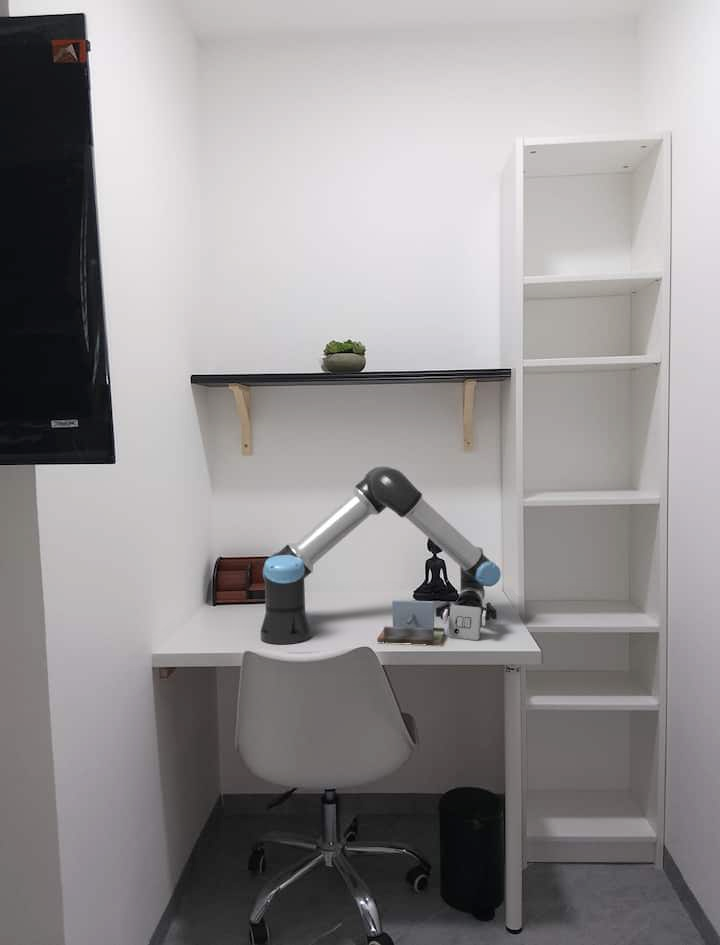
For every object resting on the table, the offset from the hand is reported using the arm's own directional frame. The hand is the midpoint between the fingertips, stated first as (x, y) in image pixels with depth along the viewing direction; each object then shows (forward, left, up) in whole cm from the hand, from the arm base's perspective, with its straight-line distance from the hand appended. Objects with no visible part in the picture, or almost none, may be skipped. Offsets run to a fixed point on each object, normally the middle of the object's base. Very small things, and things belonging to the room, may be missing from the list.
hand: (463, 620), depth 204 cm
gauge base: (-15, -1, -6) cm, 16 cm away
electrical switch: (0, +4, -6) cm, 8 cm away
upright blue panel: (-14, 0, -4) cm, 14 cm away
